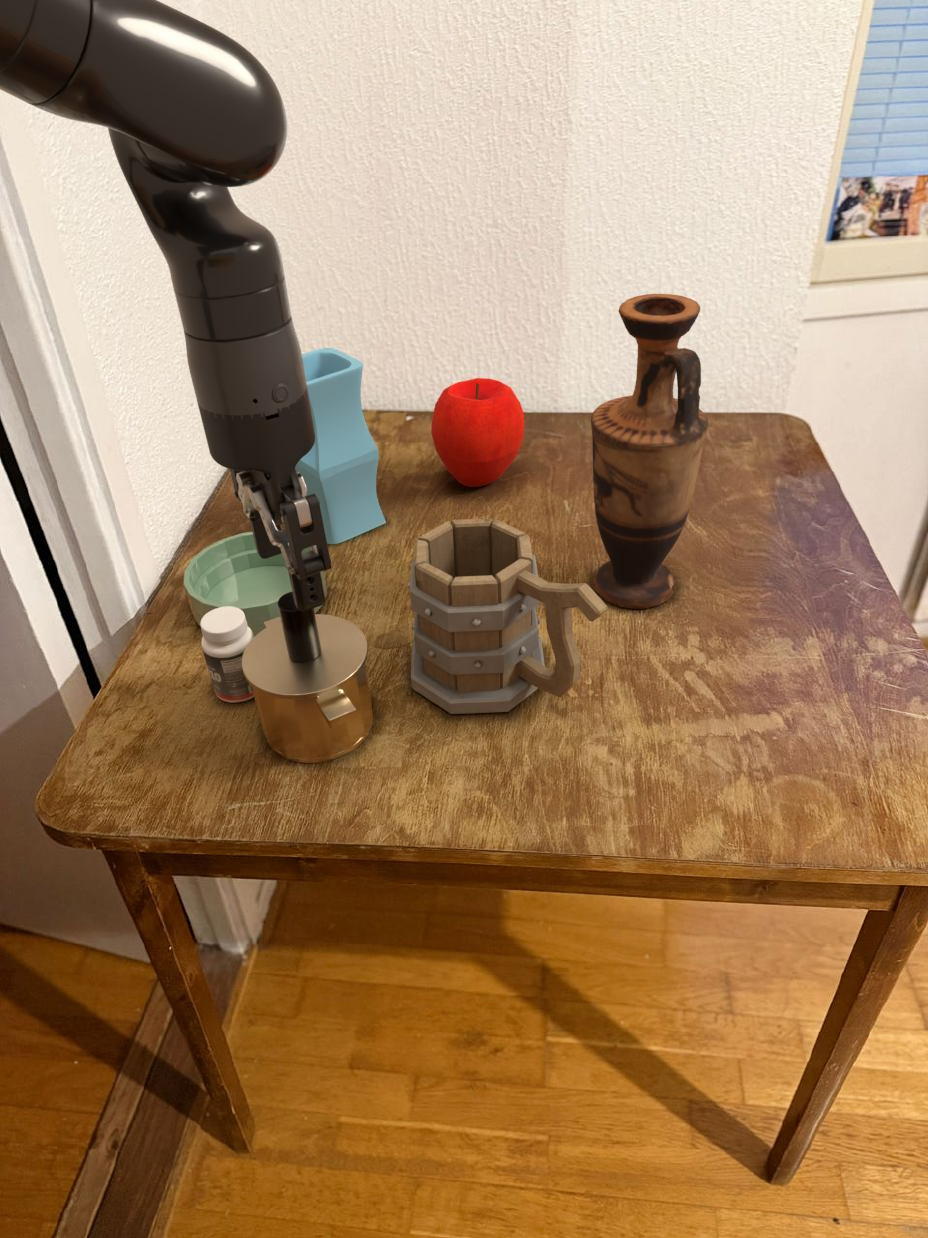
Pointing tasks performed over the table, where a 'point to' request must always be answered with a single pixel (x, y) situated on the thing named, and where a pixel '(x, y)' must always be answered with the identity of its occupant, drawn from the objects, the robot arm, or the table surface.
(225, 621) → the pill bottle
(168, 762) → the table surface
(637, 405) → the vase
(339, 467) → the vase
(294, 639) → the pot lid
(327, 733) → the pot
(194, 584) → the bowl
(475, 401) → the apple
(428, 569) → the tankard
